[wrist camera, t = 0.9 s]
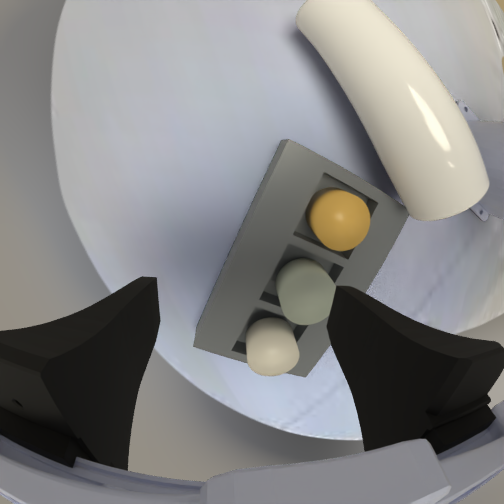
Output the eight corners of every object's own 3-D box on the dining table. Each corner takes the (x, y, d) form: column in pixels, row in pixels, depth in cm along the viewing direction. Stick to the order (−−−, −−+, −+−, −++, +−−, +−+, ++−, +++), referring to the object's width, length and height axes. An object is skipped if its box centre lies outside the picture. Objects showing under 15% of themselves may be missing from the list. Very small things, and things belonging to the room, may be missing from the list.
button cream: (301, 325, 20) (308, 346, 18) (279, 358, 21) (284, 380, 19) (257, 310, 20) (261, 332, 17) (237, 346, 21) (238, 369, 18)
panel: (393, 202, 20) (411, 210, 17) (300, 358, 25) (305, 377, 22) (281, 139, 18) (288, 139, 15) (196, 327, 23) (193, 346, 20)
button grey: (335, 269, 19) (348, 285, 17) (310, 310, 20) (319, 330, 18) (290, 249, 18) (298, 265, 16) (266, 295, 19) (271, 315, 17)
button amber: (362, 201, 18) (379, 209, 16) (339, 245, 19) (352, 259, 17) (320, 177, 18) (333, 183, 15) (296, 225, 19) (305, 237, 16)
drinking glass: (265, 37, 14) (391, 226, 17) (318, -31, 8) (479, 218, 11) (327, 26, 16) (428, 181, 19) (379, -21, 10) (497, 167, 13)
